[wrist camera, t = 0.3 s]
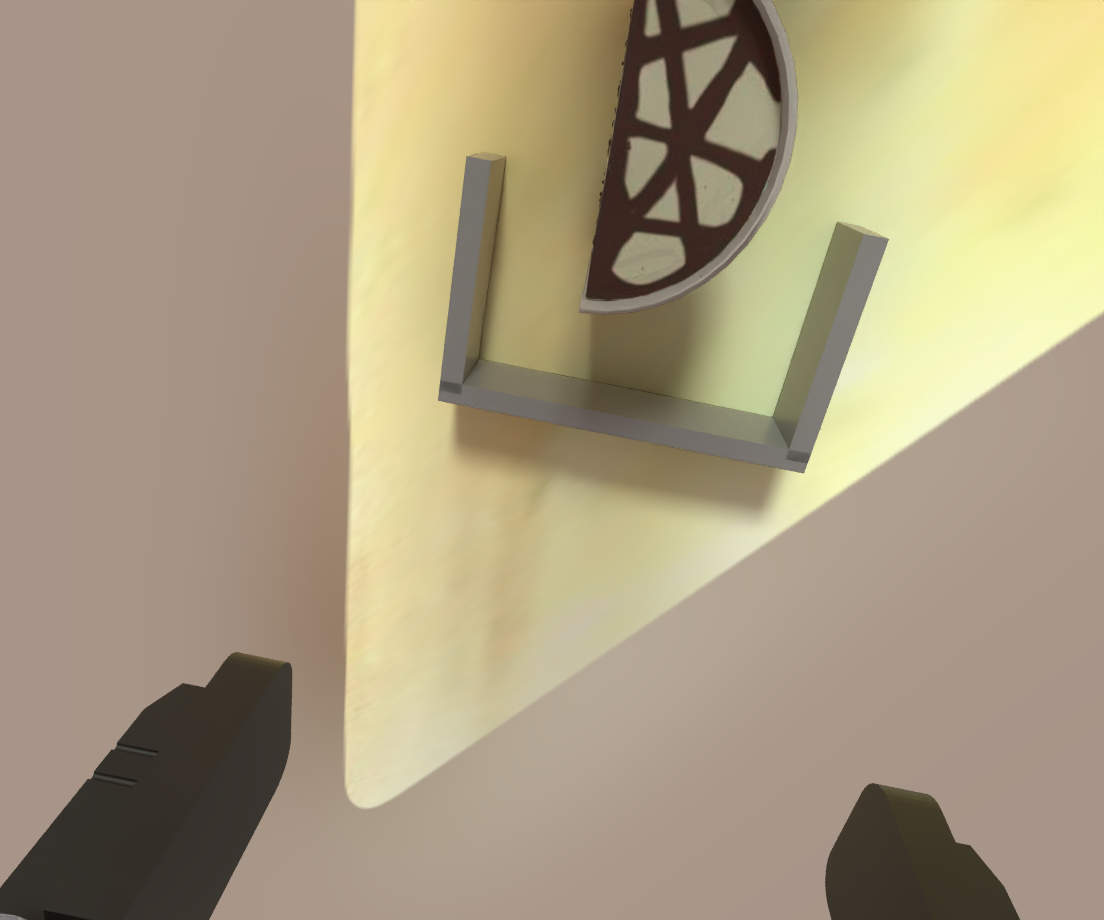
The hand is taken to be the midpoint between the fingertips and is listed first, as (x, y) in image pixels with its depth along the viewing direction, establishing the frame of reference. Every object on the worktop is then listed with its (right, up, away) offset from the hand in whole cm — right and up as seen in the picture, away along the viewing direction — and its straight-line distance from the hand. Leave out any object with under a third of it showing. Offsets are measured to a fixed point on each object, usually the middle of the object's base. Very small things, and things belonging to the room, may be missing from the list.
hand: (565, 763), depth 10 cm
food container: (+6, +18, +22) cm, 29 cm away
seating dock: (+4, +12, +25) cm, 28 cm away
